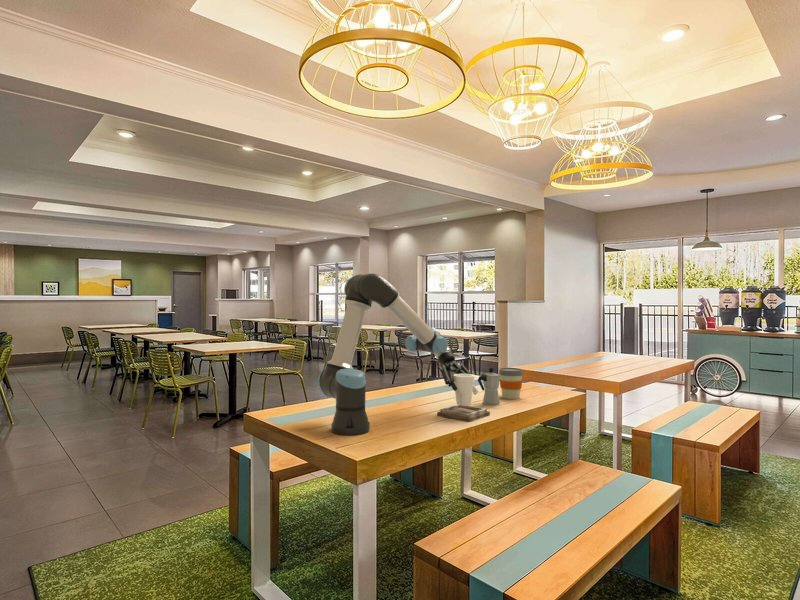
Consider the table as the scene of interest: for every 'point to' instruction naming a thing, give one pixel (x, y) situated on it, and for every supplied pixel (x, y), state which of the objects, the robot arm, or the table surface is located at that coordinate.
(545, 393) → the table surface
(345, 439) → the table surface
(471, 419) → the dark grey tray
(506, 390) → the reusable coffee cup
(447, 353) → the robot arm
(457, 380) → the foam cup
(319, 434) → the table surface
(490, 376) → the coffee maker
